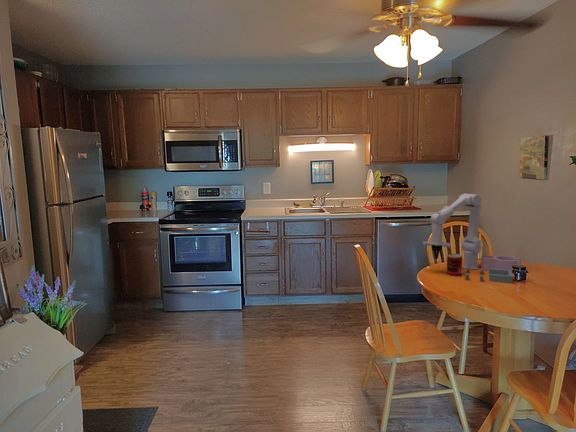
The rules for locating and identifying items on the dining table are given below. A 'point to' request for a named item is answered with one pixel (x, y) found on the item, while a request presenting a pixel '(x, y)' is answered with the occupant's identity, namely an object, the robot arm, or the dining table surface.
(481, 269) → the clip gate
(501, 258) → the clip
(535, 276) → the dining table surface
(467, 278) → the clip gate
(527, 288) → the dining table surface
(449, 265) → the canned food
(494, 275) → the end cradle
